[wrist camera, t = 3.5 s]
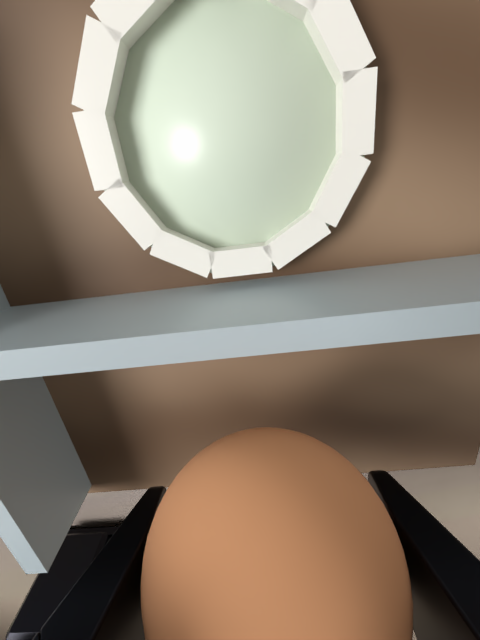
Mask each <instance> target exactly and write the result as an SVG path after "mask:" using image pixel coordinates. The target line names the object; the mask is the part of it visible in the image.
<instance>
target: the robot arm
mask: <svg viewBox="0 0 480 640" xmlns="http://www.w3.org/2000/svg"><path fill="white" fill-rule="evenodd" d="M368 482H369V483H370V485H371V486H372V488H373V489H374V491H375V492H376V493H377V495H378V496H379V498H380V499H381V501H382V502H383V504H384V506H385V508H386V510H387V512H388V514H389V515H390V517H391V519H392V521H393V524H394V526H395V528H396V531H397V533H398V536H399V539H400V542H401V544H402V547H403V550H404V554H405V558H406V562H407V567H408V571H409V576H410V582H411V590H412V599H413V630H414V632H415V635H416V637H417V640H480V561H479V560H478V559H477V558H476V557H475V556H474V555H473V554H472V553H471V552H470V551H469V550H468V549H467V548H466V547H465V546H464V545H463V544H462V543H461V542H460V541H459V540H457V539H456V538H455V537H454V536H453V535H452V534H451V533H450V532H449V531H448V530H447V529H446V528H445V527H444V526H443V525H442V524H441V523H440V522H439V521H438V520H437V519H436V518H434V517H433V516H432V515H431V514H430V513H429V512H428V511H427V510H426V509H425V508H424V507H423V506H422V505H421V504H420V503H419V502H418V501H417V500H416V499H415V498H414V497H413V496H411V495H410V494H409V493H408V492H407V491H406V490H405V489H404V488H403V487H402V486H401V485H400V484H399V483H398V482H397V481H396V480H395V479H394V478H393V477H392V476H391V475H390V474H388V473H387V472H386V471H384V470H375V471H370V472H369V474H368ZM165 493H166V488H165V487H164V486H154V487H150V488H149V489H148V490H147V491H146V493H145V494H144V495H143V496H142V498H141V499H140V500H139V502H138V503H137V504H136V506H135V507H134V508H133V509H132V511H131V512H130V513H129V515H128V516H127V517H126V519H125V520H124V521H123V522H122V524H121V525H120V526H117V527H102V528H87V529H72V530H69V531H68V533H67V535H66V537H65V539H64V541H63V543H62V545H61V547H60V549H59V551H58V553H57V555H56V557H55V559H54V561H53V563H52V565H51V567H50V569H49V571H48V573H38V575H37V577H36V579H35V580H34V582H33V584H32V586H31V588H30V590H29V592H28V594H27V596H26V598H25V599H24V601H23V603H22V605H21V607H20V609H19V611H18V613H17V615H16V617H15V619H14V620H13V622H12V624H11V626H10V628H9V630H8V632H7V634H6V640H145V635H144V628H143V621H142V613H141V589H140V584H141V573H142V563H143V556H144V551H145V546H146V541H147V536H148V533H149V530H150V527H151V524H152V522H153V519H154V516H155V513H156V510H157V508H158V506H159V504H160V502H161V500H162V498H163V496H164V494H165Z"/></svg>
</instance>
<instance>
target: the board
mask: <svg viewBox="0 0 480 640" xmlns="http://www.w3.org/2000/svg"><path fill="white" fill-rule="evenodd" d="M261 427H273V428H282V429H288V430H293V431H297V432H300V433H304V434H306V435H309V436H311V437H313V438H315V439H317V440H319V441H321V442H323V443H325V444H326V445H328V446H330V447H332V448H333V449H334V450H336V451H337V452H338V453H340V454H341V455H342V456H343V457H345V458H346V459H347V460H348V461H350V462H351V463H352V464H353V465H354V466H355V467H356V468H357V469H358V471H359V472H360V473H368V472H370V471H375V470H384V471H395V470H409V469H423V468H437V467H450V466H464V465H475V462H476V458H477V454H478V451H479V447H480V0H0V537H1V538H2V540H3V541H4V543H5V544H6V546H7V547H8V548H9V550H10V551H11V553H12V554H13V556H14V557H15V559H16V560H17V561H18V563H19V564H20V566H21V567H22V569H23V570H24V571H25V573H26V574H35V573H48V571H49V569H50V567H51V565H52V563H53V561H54V559H55V557H56V555H57V553H58V551H59V549H60V547H61V545H62V543H63V541H64V539H65V537H66V535H67V533H68V531H69V529H70V527H71V525H72V523H73V521H74V519H75V517H76V515H77V513H78V511H79V509H80V507H81V505H82V503H83V501H84V499H85V497H86V495H87V493H95V492H108V491H122V490H136V489H149V488H150V487H154V486H164V487H169V486H170V484H171V483H172V482H173V480H174V479H175V477H176V476H177V474H178V473H179V472H180V471H181V470H182V469H183V467H184V466H185V465H186V464H187V463H188V462H189V461H190V460H191V459H192V458H193V457H194V456H195V455H196V454H198V453H199V452H200V451H201V450H203V449H204V448H206V447H207V446H209V445H210V444H212V443H213V442H215V441H216V440H218V439H220V438H222V437H225V436H227V435H230V434H233V433H235V432H239V431H242V430H247V429H252V428H261Z"/></svg>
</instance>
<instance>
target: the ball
mask: <svg viewBox="0 0 480 640" xmlns="http://www.w3.org/2000/svg"><path fill="white" fill-rule="evenodd" d="M140 589H141V613H142V621H143V628H144V635H145V640H412V635H413V599H412V590H411V582H410V576H409V571H408V567H407V562H406V558H405V554H404V550H403V547H402V544H401V542H400V539H399V536H398V533H397V531H396V528H395V526H394V524H393V521H392V519H391V517H390V515H389V514H388V512H387V510H386V508H385V506H384V504H383V502H382V501H381V499H380V498H379V496H378V495H377V493H376V492H375V491H374V489H373V488H372V486H371V485H370V483H369V482H368V481H367V479H366V478H365V477H364V476H363V475H362V474H361V473H360V472H359V471H358V469H357V468H356V467H355V466H354V465H353V464H352V463H351V462H350V461H348V460H347V459H346V458H345V457H343V456H342V455H341V454H340V453H338V452H337V451H336V450H334V449H333V448H332V447H330V446H328V445H326V444H325V443H323V442H321V441H319V440H317V439H315V438H313V437H311V436H309V435H306V434H304V433H300V432H297V431H293V430H288V429H282V428H273V427H261V428H252V429H247V430H242V431H239V432H235V433H233V434H230V435H227V436H225V437H222V438H220V439H218V440H216V441H215V442H213V443H212V444H210V445H209V446H207V447H206V448H204V449H203V450H201V451H200V452H199V453H198V454H196V455H195V456H194V457H193V458H192V459H191V460H190V461H189V462H188V463H187V464H186V465H185V466H184V467H183V469H182V470H181V471H180V472H179V473H178V474H177V476H176V477H175V479H174V480H173V482H172V483H171V484H170V486H169V488H168V489H167V491H166V493H165V494H164V496H163V498H162V500H161V502H160V504H159V506H158V508H157V510H156V513H155V516H154V519H153V522H152V524H151V527H150V530H149V533H148V536H147V541H146V546H145V551H144V556H143V563H142V573H141V584H140Z"/></svg>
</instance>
